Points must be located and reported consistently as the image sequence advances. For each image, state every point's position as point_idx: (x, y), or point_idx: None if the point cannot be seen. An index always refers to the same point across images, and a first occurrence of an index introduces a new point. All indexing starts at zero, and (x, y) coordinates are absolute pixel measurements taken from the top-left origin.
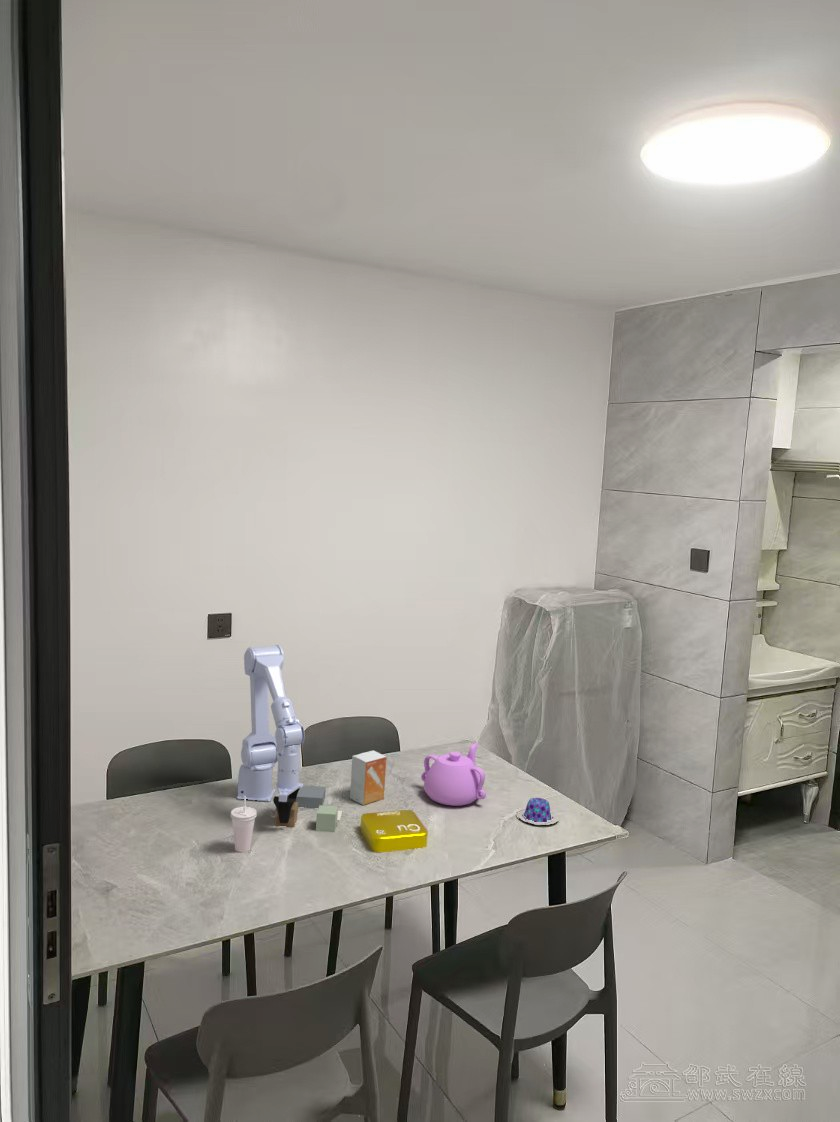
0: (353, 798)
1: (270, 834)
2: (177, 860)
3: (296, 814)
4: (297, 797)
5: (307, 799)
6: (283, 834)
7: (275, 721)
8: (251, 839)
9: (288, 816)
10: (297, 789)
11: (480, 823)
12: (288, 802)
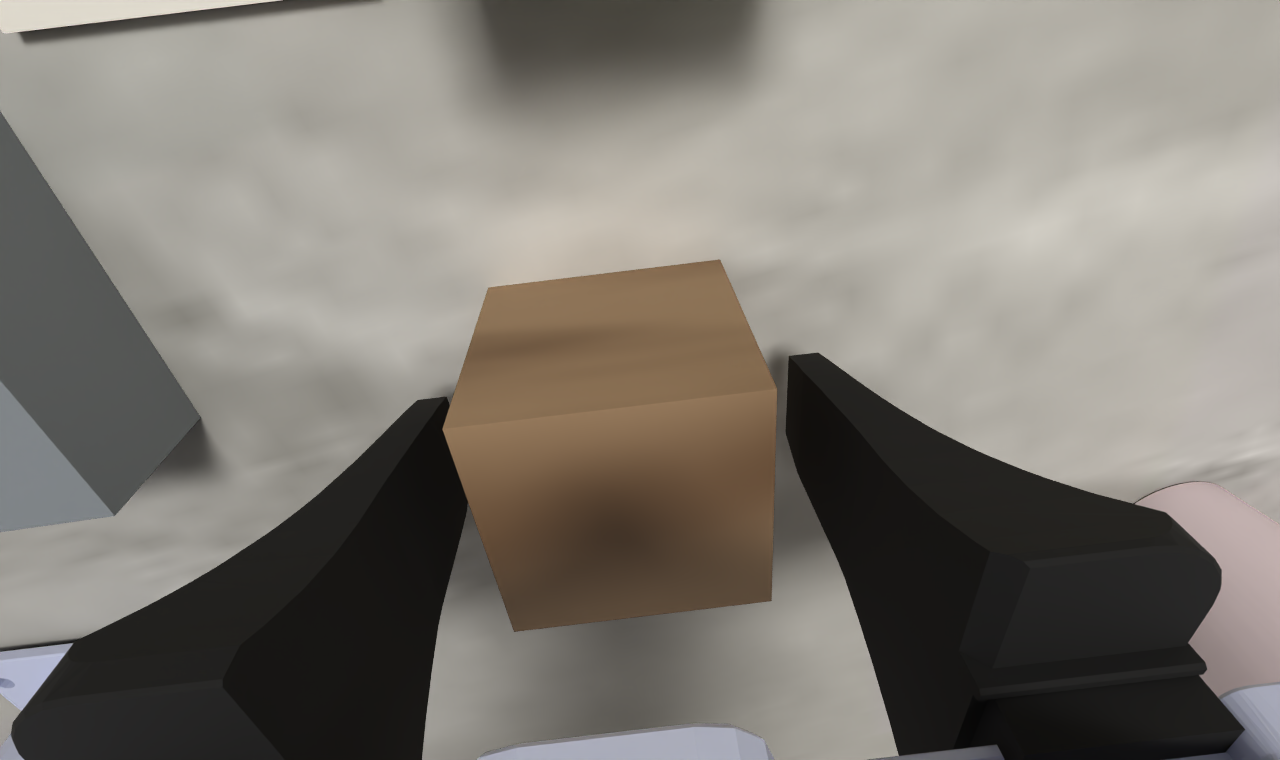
0: None
1: None
2: None
3: (563, 326)
4: (89, 468)
5: (4, 326)
6: (908, 316)
7: None
8: (1268, 542)
9: (879, 401)
10: (293, 644)
11: None
12: (1187, 616)
